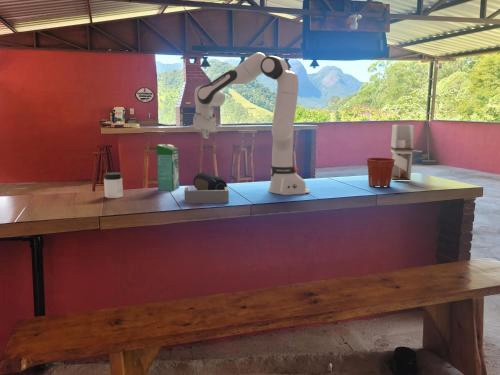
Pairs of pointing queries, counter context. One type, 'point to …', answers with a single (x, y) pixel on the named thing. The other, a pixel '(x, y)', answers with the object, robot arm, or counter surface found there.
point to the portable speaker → (208, 182)
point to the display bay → (206, 196)
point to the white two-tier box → (402, 151)
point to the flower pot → (380, 171)
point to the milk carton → (167, 167)
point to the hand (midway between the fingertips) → (205, 138)
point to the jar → (113, 185)
